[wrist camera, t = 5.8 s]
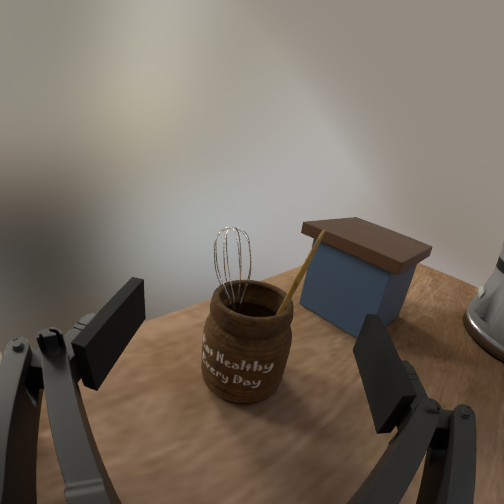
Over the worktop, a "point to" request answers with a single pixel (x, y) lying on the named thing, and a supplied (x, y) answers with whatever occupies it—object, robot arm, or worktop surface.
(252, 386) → the utensil holder
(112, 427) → the worktop surface
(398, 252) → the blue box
